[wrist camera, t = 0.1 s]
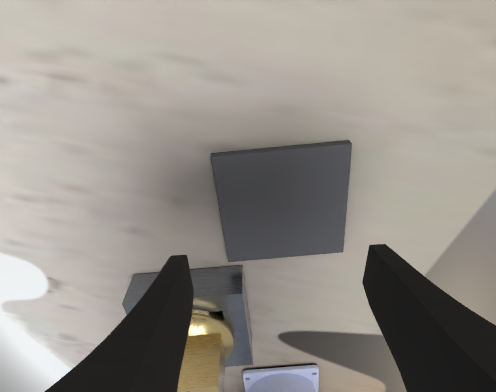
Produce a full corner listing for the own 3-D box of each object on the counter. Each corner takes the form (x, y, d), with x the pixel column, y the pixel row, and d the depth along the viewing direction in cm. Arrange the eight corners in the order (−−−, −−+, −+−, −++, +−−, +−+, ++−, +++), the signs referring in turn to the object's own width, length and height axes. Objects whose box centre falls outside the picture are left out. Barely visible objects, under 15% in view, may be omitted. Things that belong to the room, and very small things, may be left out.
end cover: (237, 329, 30) (237, 419, 23) (168, 334, 30) (148, 426, 23) (229, 278, 26) (225, 368, 20) (151, 285, 27) (122, 376, 20)
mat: (340, 247, 25) (343, 252, 25) (228, 256, 25) (228, 262, 25) (349, 140, 21) (351, 143, 20) (211, 153, 21) (210, 157, 20)
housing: (251, 334, 30) (252, 364, 28) (159, 341, 31) (152, 372, 28) (242, 265, 26) (242, 293, 23) (133, 274, 26) (122, 303, 24)
